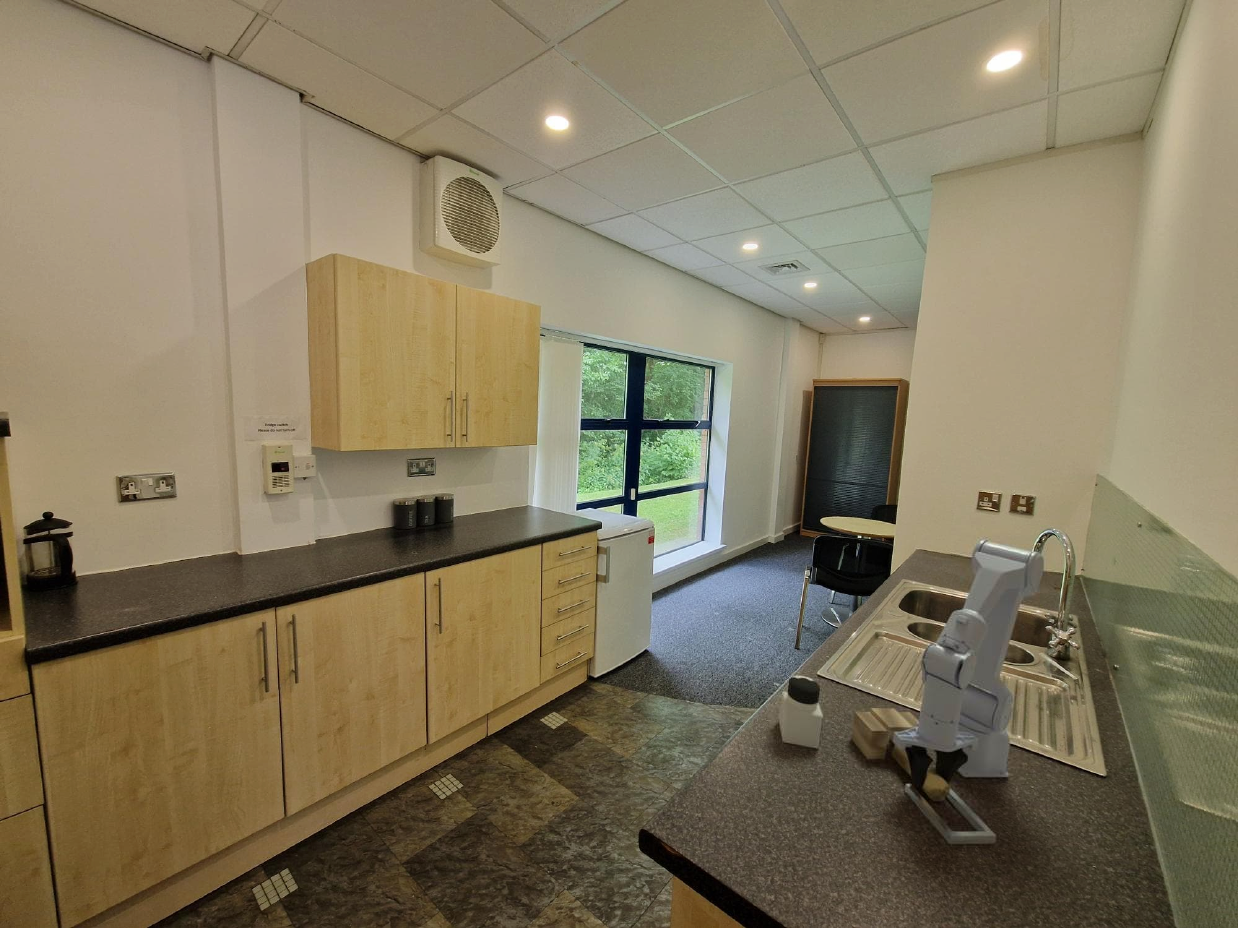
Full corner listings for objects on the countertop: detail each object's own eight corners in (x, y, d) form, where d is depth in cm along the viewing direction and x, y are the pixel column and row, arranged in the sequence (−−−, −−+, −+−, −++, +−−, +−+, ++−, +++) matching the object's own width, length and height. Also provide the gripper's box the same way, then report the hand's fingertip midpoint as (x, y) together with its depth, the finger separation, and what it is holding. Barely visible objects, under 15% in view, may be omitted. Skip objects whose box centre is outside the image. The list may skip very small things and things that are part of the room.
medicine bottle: (819, 749, 98) (826, 693, 97) (782, 742, 100) (788, 687, 98) (813, 727, 105) (819, 674, 104) (778, 721, 107) (784, 669, 105)
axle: (890, 760, 96) (893, 741, 95) (910, 760, 96) (912, 741, 96) (926, 801, 86) (929, 780, 85) (948, 800, 86) (951, 780, 86)
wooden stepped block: (905, 738, 104) (909, 708, 103) (925, 758, 98) (930, 727, 97) (851, 738, 102) (855, 707, 102) (867, 758, 97) (872, 726, 96)
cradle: (945, 790, 90) (946, 783, 89) (994, 843, 79) (996, 835, 79) (904, 790, 89) (905, 783, 89) (949, 843, 78) (950, 836, 78)
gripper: (960, 699, 91) (950, 766, 93) (886, 698, 90) (877, 766, 92) (992, 724, 84) (980, 796, 86) (912, 723, 83) (901, 796, 85)
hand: (928, 783), depth 88 cm, fingers closed on axle, 4 cm apart
